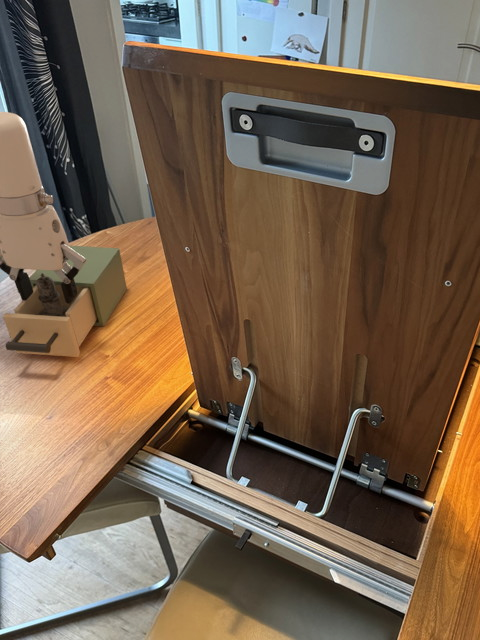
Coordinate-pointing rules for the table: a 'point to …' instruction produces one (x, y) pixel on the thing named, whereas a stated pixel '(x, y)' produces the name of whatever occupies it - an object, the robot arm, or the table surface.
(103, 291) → the cabinet
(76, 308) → the drawer
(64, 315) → the brown carved figurine
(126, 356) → the table surface
